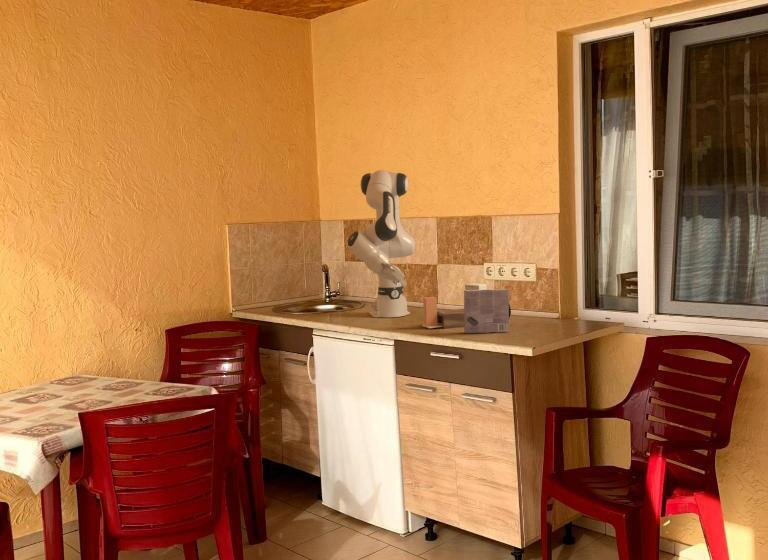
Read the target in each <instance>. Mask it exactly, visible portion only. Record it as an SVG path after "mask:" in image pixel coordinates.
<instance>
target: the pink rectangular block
mask: <svg viewBox="0 0 768 560" xmlns="http://www.w3.org/2000/svg"><path fill="white" fill-rule="evenodd" d="M437 298H438V297H435V296H431V297H430V296H428V297H426V296H425V297H423V298H422V299H423V300H422V301H423V304H422V305H423V306H422V307H423V324H422V325H421V327H424V328H427V329H434V328H436V329H437V328H443V323H438V320H437V311H438V304H437V303H438V299H437Z"/></svg>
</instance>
